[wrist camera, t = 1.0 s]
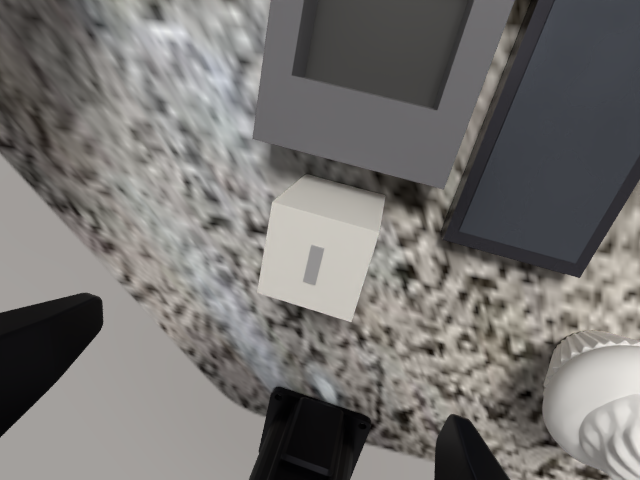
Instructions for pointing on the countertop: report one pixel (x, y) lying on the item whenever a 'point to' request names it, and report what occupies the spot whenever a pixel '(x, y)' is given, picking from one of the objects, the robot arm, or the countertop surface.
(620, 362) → the white ribbed lump
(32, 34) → the countertop surface
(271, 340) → the countertop surface
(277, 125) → the grey tray
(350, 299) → the block
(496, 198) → the phone
